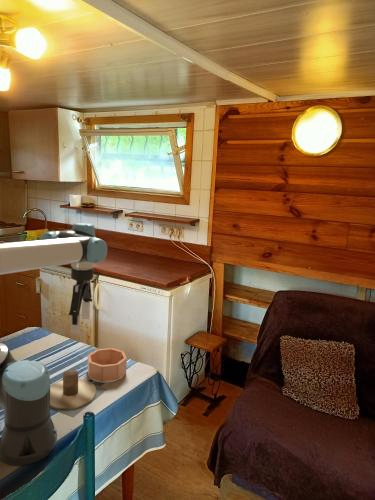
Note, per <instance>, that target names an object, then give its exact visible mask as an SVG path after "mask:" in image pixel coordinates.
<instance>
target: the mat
mask: <svg viewBox="0 0 375 500" xmlns="http://www.w3.org/2000/svg"><path fill="white" fill-rule="evenodd" d="M62 380H63V378H62V379H61V380H60V381H62ZM94 386H95V388H96V395H95V397H94V399H93V400H92V401H91V402H89V403H88V404H86V405H84V406H82V407H79V408H75V409H69V410H61V409H55V408H52V407H50V410H54V411H56V412H59V413H60V414H61V413H62V414H64V415H67V416H70V417H71V418H75V416H77V415H78V414H79V413H81V412H82V411H83V410H84V409H85V408H87V407H88V406H89V405H91V404H92V403H93V402H94V401H95V400H97V399H98V398H99V397H100V396H102V395H103V394H104V393H105V392H106V391H108V388H105V387H103V386H100V385H97V384H94Z"/></svg>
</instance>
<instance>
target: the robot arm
mask: <svg viewBox="0 0 375 500" xmlns="http://www.w3.org/2000/svg"><path fill="white" fill-rule="evenodd" d="M107 255H108V245H107V243H106V241H105V240H103V239H102V238H98V237H96V227H95V225H94V224H93V223H89V222H76V223H72V228H71V229H70V230H51V231H46V232H43V233H42V234H41V236H40V238H39V239H38V240H37V239H36V240H23V241H12V242H11V241H10V242H0V275H6V274H7V275H8V274H13V273H14V274H15V273H20V272H26V271H31V270H33V271H34V270H38V269H44V268H45V269H46V268H51V267H58V266H64V265H70V266H71V269H70V277H71V279H72V280H74V281H76V283H75V284H74V285H73V287H72V294H71V295H72V296H71V302H70V309H69V312H68V315H69V316H71V317H70V322H71V323H70V334H80V330H81V328H80V327H81V319H82V320H90V311H91V307H90V306H91V302H93V298H92V289H91V288H92V287H91V286H92V285H91V280H93V278H94V273H95V271H94V265H95V264H100V263H103V261H104V260H105V259H106V257H107ZM80 311H81V314H80ZM51 382H52V381H51V376H50V371H49V369H48V367H47V366H46V365H45V364H43V363H42V362H41V361H37V360H33V359H32V360H29V359H22V360H18V361H17V360H16V359H15V358H14V355H13V354H12V353H11V350H10V349H9V348H8V346H7V345H6V344H5V343H2V342H0V406H1V407H2V408H3V415H4V416H3V417H4V419H3V420H4V426H3V429H2V430H1V431H2V433H1V436H0V460H1V461H2V462H4V463H5V464H8V465H11V466H27V465H31V464H34V463H37V462H39V461H41V460H43V459H44V458H46V457H48V456H49V455H50V454H51V453H52V451H53V449H54V448H56V447H55V446H57V445H56V444H57V441H58V433H57V432H58V431H57V429H56V427H55V424H54V422H53V420H52V417H51V408H50V386H51V385H52V383H51Z"/></svg>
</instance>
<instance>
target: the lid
mask: <svg viewBox="0 0 375 500" xmlns="http://www.w3.org/2000/svg"><path fill="white" fill-rule="evenodd" d="M62 379H63V380H62ZM62 379H61V380H62V381H61V380H59V381H57V382H55V383H53V384H50V407H52V408H55V409H61V410H69V409H75V408H79V407H82V406H84V405H86V404H88V403H89V402H91V401H92V400H93V399H94V397H95V395H96V388H95V386H94V385H95V384H94V383H92V382H91V381H89V380H86V379H82V378H79V371H78V370H77V369H68V370H65V371H63V372H62Z"/></svg>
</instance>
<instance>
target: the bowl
mask: <svg viewBox="0 0 375 500" xmlns="http://www.w3.org/2000/svg"><path fill="white" fill-rule="evenodd" d="M127 360H128V358H127V356H126V353H125V351H123V350H121V349H116V348H113V347H108V348H98V349H96V350H94V351H92V352H91V353H89V354H87V369H86V370H87V375H88V377H89V379H90V380H92V381H94V382H96V383H103V384H104V383H106V384H107V383H113V382H116V381H119V380H121V379H122V378H124V376H125V374H126V373H127Z"/></svg>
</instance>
